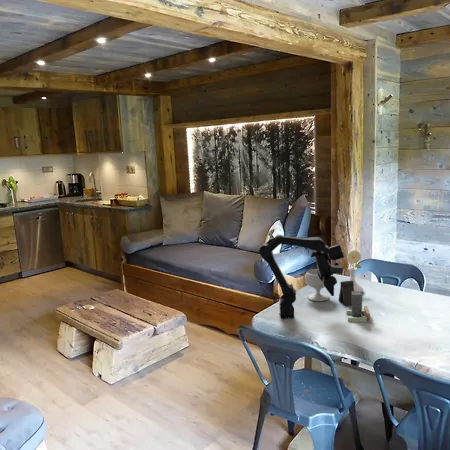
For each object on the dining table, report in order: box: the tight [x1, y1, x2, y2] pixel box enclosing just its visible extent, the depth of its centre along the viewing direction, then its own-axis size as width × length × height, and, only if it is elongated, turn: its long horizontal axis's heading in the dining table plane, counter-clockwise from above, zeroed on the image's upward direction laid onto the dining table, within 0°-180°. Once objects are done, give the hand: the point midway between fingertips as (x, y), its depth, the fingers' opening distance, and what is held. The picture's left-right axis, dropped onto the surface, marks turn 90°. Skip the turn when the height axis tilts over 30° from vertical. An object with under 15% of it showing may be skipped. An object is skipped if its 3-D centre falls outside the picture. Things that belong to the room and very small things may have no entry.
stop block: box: [350, 291, 363, 317], centre depth 208 cm, size 4×4×12 cm
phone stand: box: [338, 280, 354, 308], centre depth 227 cm, size 9×6×12 cm, turn 7°
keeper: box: [345, 305, 371, 323], centre depth 209 cm, size 10×10×4 cm
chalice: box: [304, 268, 330, 302], centre depth 237 cm, size 14×14×15 cm
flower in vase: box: [346, 249, 364, 293], centre depth 241 cm, size 13×11×25 cm
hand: (331, 292), depth 211 cm, fingers open, 9 cm apart
